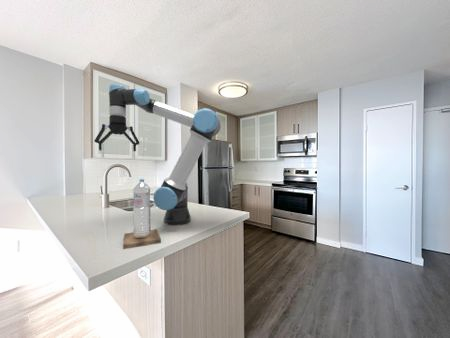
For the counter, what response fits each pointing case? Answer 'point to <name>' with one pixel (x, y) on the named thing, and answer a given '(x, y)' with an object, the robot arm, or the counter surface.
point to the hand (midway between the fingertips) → (118, 157)
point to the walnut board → (141, 239)
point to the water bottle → (141, 210)
